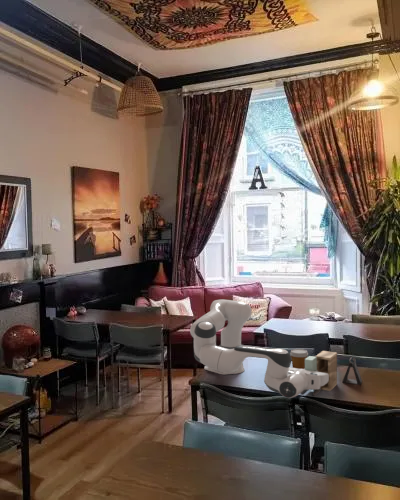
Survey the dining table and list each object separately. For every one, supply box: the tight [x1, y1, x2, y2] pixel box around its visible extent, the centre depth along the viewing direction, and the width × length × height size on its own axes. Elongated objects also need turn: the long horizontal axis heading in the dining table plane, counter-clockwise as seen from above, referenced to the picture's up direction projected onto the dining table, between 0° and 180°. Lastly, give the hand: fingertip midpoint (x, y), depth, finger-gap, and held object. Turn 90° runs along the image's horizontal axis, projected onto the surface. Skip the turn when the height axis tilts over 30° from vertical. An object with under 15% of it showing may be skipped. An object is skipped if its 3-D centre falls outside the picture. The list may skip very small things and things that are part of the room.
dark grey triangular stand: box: [342, 356, 363, 386], centre depth 229 cm, size 9×6×12 cm, turn 66°
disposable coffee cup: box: [289, 348, 309, 369], centre depth 244 cm, size 10×10×12 cm
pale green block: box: [305, 355, 317, 391], centre depth 216 cm, size 4×7×14 cm, turn 146°
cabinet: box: [300, 350, 338, 397], centre depth 220 cm, size 11×21×16 cm, turn 147°
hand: (311, 370), depth 216 cm, fingers closed on pale green block, 3 cm apart
